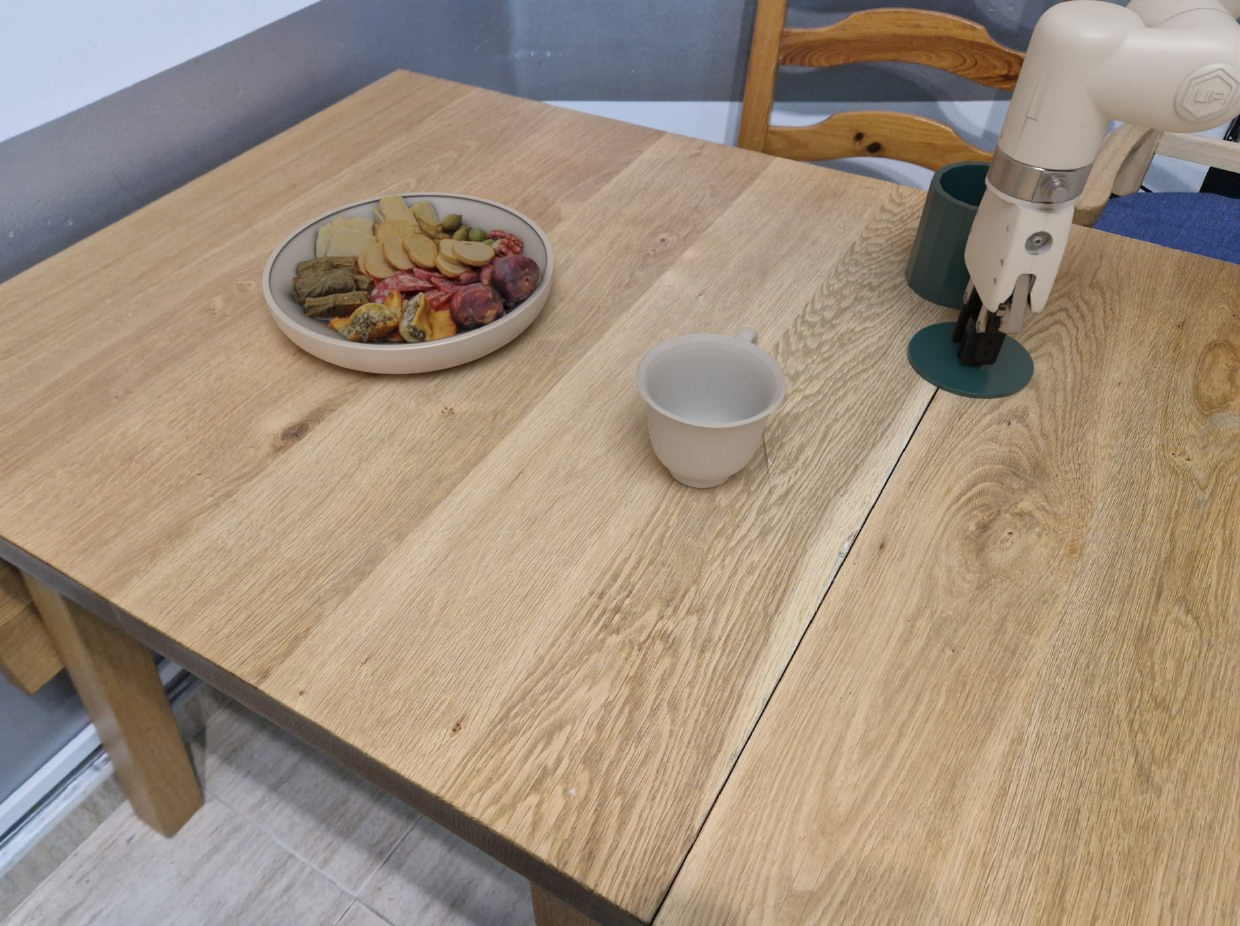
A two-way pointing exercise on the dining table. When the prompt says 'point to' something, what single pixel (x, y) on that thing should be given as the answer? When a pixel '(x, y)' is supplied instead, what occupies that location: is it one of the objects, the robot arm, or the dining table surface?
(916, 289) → the teal hollow cylinder
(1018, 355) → the canister lid
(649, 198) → the dining table surface
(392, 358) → the bowl
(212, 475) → the dining table surface
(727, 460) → the teacup
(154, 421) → the dining table surface
